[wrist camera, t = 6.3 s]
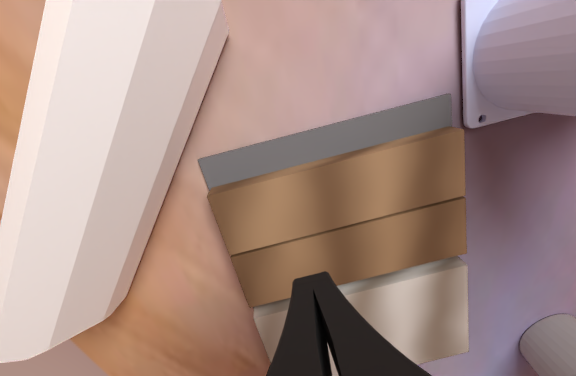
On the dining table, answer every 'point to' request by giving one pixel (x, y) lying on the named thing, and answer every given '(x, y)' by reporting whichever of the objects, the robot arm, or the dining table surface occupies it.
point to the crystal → (97, 157)
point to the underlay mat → (327, 141)
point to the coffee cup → (551, 346)
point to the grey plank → (398, 310)
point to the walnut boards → (346, 214)
